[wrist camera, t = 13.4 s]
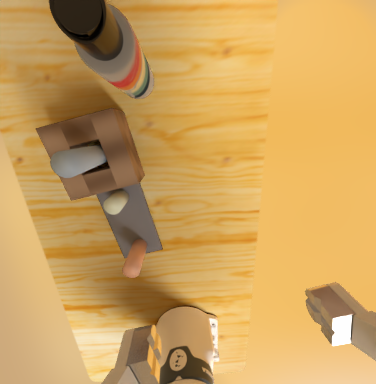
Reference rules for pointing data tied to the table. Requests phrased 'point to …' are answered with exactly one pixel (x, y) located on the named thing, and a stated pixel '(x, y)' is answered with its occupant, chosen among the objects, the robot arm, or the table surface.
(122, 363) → the robot arm
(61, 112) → the table surface
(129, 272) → the pin medium
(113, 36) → the lotion bottle
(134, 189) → the mat
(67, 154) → the pin long
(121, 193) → the pin short
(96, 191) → the socket block
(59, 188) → the table surface
